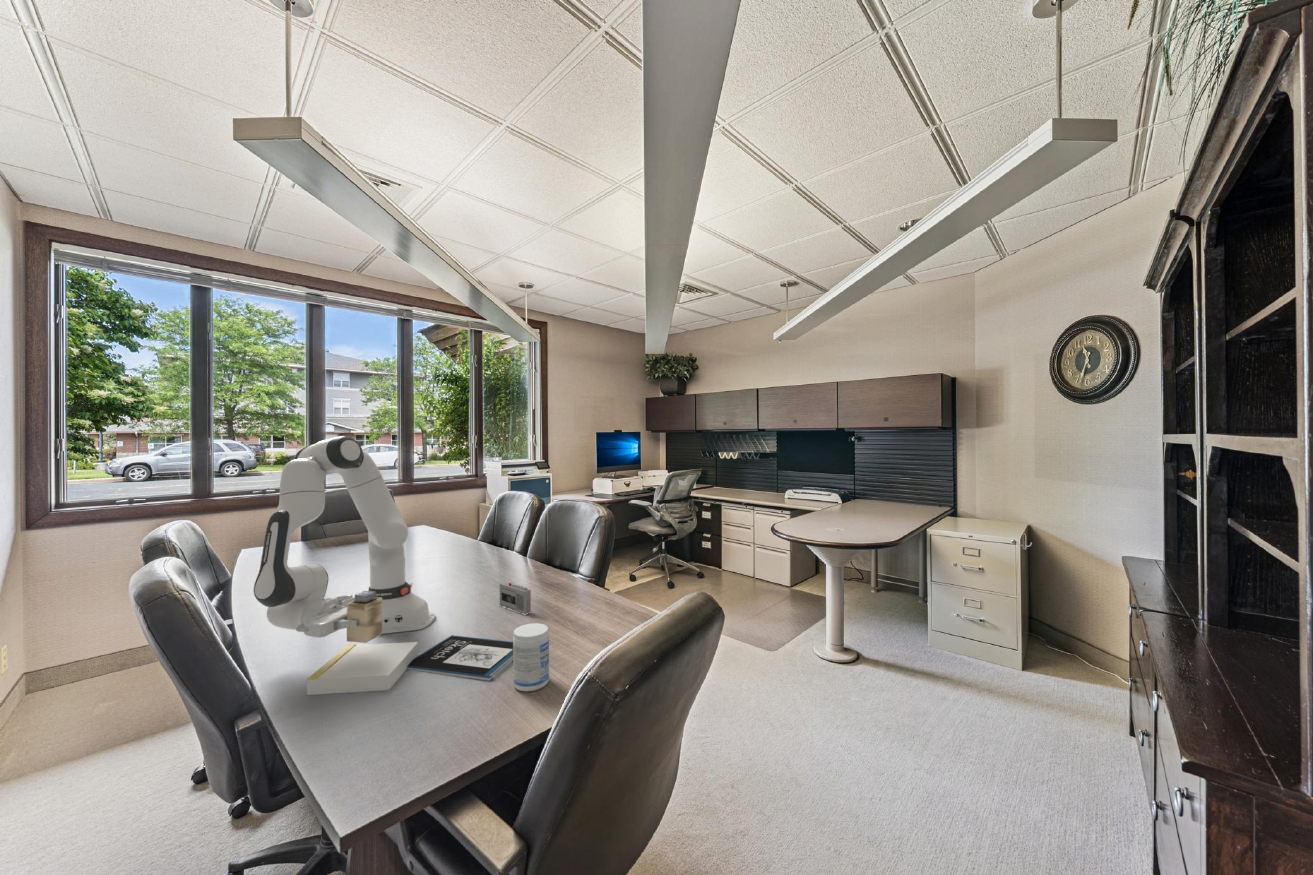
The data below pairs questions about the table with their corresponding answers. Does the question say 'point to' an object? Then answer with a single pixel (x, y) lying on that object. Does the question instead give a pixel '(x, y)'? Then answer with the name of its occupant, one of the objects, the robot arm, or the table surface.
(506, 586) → the cassette player
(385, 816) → the table surface
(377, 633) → the wooden block
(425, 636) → the table surface
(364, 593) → the metal block
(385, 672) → the white square slab
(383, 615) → the robot arm
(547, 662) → the supplement tub
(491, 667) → the sketchbook
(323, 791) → the table surface
